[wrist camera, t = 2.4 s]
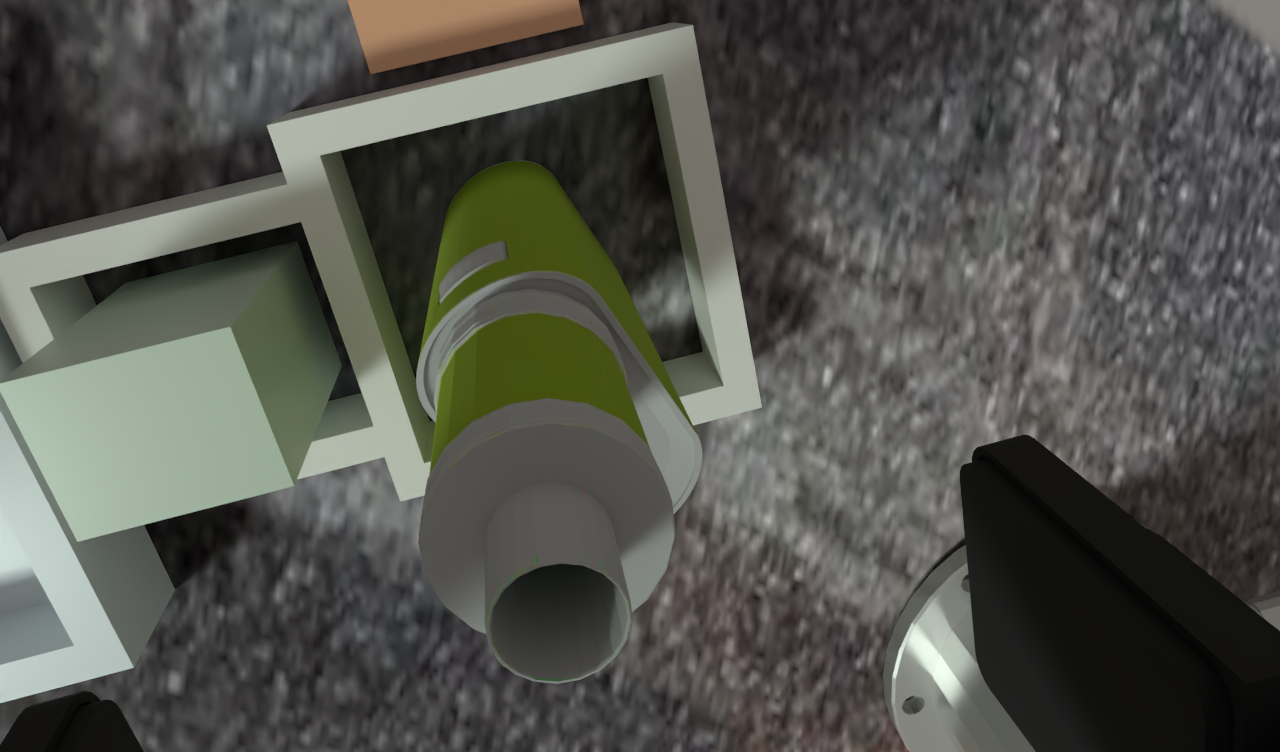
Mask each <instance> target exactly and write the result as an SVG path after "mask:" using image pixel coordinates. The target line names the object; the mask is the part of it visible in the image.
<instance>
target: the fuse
mask: <svg viewBox="0 0 1280 752" xmlns="http://www.w3.org/2000/svg"><path fill="white" fill-rule="evenodd" d="M341 367H342V364H341V361H340V358H339V355H338V353H337V350H336V347H335V344H334V342H333V339H332V336H331V333H330V330H329V328H328V325H327V322H326V319H325V317H324V314H323V311H322V308H321V305H320V303H319V300H318V297H317V294H316V292H315V289H314V286H313V283H312V281H311V278H310V275H309V272H308V269H307V267H306V264H305V261H304V258H303V256H302V253H301V250H300V247H299V244H298V242H297V241H295V242H291V243H287V244H283V245H279V246H275V247H271V248H267V249H262V250H258V251H254V252H250V253H246V254H242V255H238V256H234V257H230V258H225V259H221V260H217V261H213V262H209V263H205V264H201V265H197V266H192V267H188V268H184V269H180V270H176V271H172V272H168V273H164V274H160V275H155V276H151V277H147V278H143V279H139V280H135V281H131V282H127V283H125V284H124V285H122V286H121V287H120V288H118V289H117V290H116V291H115V292H113V293H112V294H111V295H110V296H108V297H107V298H106V299H104V300H103V301H102V302H101V303H99V304H98V305H97V306H96V307H94V308H93V309H92V310H90V311H89V312H88V313H87V314H85V315H84V316H83V317H82V318H80V319H79V320H78V321H76V322H75V323H74V324H73V325H71V326H70V327H69V328H68V329H66V330H65V331H64V332H62V333H61V334H60V335H59V336H57V337H56V338H55V339H54V340H52V341H51V342H50V343H48V344H47V345H46V346H45V347H43V348H42V349H41V350H40V351H38V352H37V353H36V354H34V355H33V356H32V357H31V358H29V359H28V360H27V361H25V362H24V363H23V364H22V365H20V366H19V367H18V368H17V369H15V370H14V371H13V372H11V373H10V374H9V375H8V376H6V377H5V378H4V379H3V380H1V381H0V392H1V394H2V396H3V398H4V400H5V402H6V404H7V406H8V408H9V410H10V412H11V414H12V416H13V418H14V420H15V422H16V423H17V425H18V427H19V429H20V431H21V433H22V435H23V437H24V439H25V441H26V443H27V445H28V447H29V449H30V451H31V453H32V455H33V456H34V458H35V460H36V462H37V464H38V466H39V468H40V470H41V472H42V474H43V476H44V478H45V480H46V482H47V484H48V486H49V488H50V489H51V491H52V493H53V495H54V497H55V499H56V501H57V503H58V505H59V507H60V509H61V511H62V513H63V515H64V517H65V519H66V520H67V522H68V524H69V526H70V528H71V530H72V532H73V534H74V536H75V538H76V540H77V542H79V541H83V540H87V539H91V538H95V537H98V536H102V535H106V534H110V533H114V532H118V531H122V530H126V529H129V528H133V527H137V526H141V525H145V524H149V523H153V522H157V521H161V520H164V519H168V518H172V517H176V516H180V515H184V514H188V513H192V512H196V511H199V510H203V509H207V508H211V507H215V506H219V505H223V504H227V503H231V502H234V501H238V500H242V499H246V498H250V497H254V496H258V495H262V494H266V493H269V492H273V491H277V490H281V489H285V488H289V487H293V486H294V485H295V483H296V480H297V478H298V475H299V473H300V470H301V468H302V465H303V463H304V460H305V458H306V455H307V453H308V450H309V448H310V445H311V443H312V440H313V437H314V435H315V432H316V430H317V427H318V425H319V422H320V420H321V417H322V415H323V412H324V410H325V407H326V405H327V402H328V400H329V397H330V395H331V392H332V389H333V387H334V384H335V382H336V379H337V377H338V374H339V372H340V369H341Z"/></svg>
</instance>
